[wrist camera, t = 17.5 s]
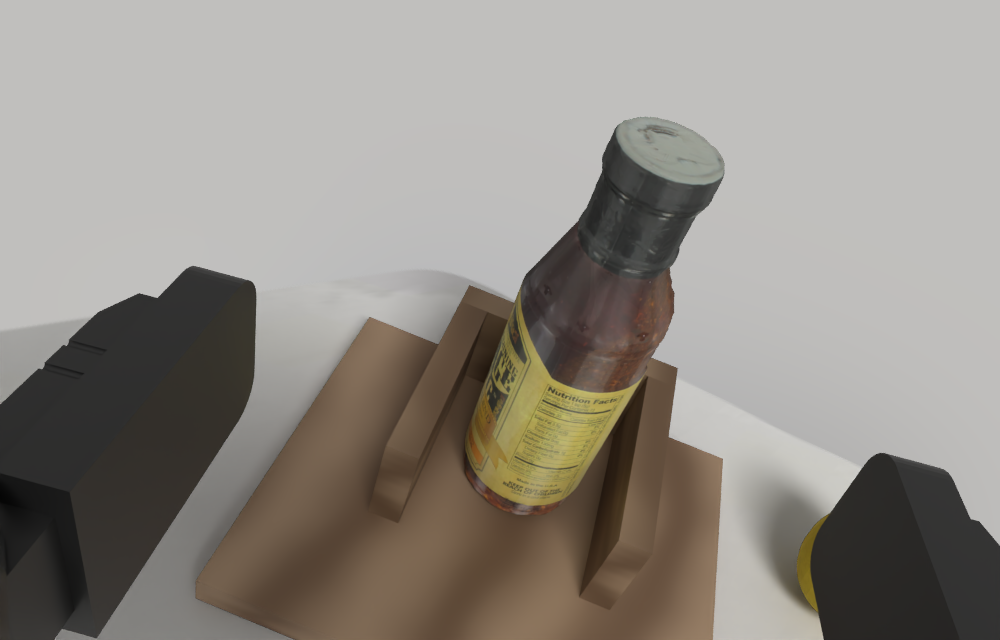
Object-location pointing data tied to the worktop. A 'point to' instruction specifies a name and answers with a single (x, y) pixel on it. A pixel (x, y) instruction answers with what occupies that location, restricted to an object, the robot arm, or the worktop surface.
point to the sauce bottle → (589, 320)
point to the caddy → (466, 513)
